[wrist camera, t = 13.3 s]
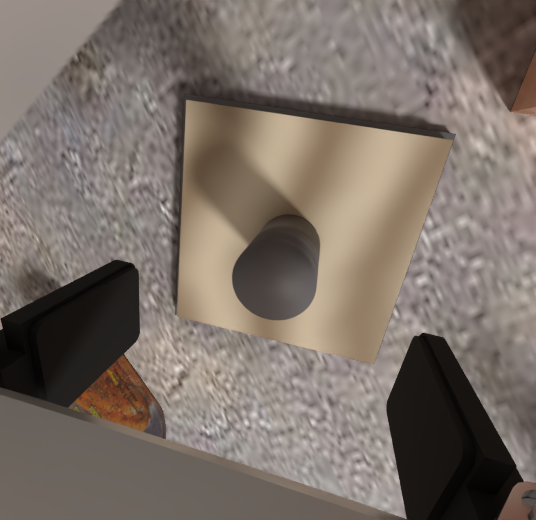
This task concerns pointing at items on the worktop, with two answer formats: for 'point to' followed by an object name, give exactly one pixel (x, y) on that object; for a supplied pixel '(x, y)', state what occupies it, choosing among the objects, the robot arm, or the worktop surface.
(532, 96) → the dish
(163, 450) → the robot arm
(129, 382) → the tin
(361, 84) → the worktop surface
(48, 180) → the worktop surface
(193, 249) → the lid
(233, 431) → the worktop surface
